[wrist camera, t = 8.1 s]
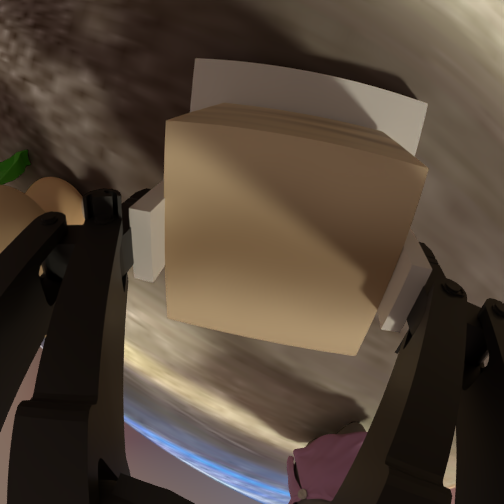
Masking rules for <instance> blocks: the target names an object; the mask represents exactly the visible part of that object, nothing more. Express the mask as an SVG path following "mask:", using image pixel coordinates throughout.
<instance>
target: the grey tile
mask: <svg viewBox="0 0 504 504" xmlns="http://www.w3.org/2000/svg"><path fill="white" fill-rule="evenodd" d="M221 103H232V104H241V105H249V106H257V107H264V108H271V109H278V110H284V111H290V112H296V113H302V114H307V115H313V116H318V117H323V118H328V119H332V120H337V121H342V122H346V123H350V124H355V125H359V126H363V127H367V128H371V129H375V130H379V131H382V132H384V133H385V134H386V135H388V136H389V137H390V138H392V139H393V140H394V141H396V142H397V143H398V144H399V145H401V146H402V147H403V148H404V149H406V150H407V151H408V152H409V153H411V154H412V155H413V156H414V157H415V153H416V150H417V146H418V142H419V138H420V135H421V131H422V127H423V123H424V119H425V114H426V110H427V106H428V104H427V103H424V102H421V101H419V100H416V99H413V98H410V97H407V96H404V95H401V94H397V93H394V92H391V91H388V90H384V89H381V88H377V87H374V86H370V85H367V84H363V83H359V82H355V81H351V80H347V79H343V78H339V77H334V76H330V75H325V74H320V73H315V72H310V71H305V70H299V69H293V68H287V67H281V66H274V65H267V64H259V63H251V62H242V61H231V60H219V59H203V58H195V65H194V74H193V84H192V94H191V105H190V112H193V111H197V110H200V109H203V108H207V107H210V106H214V105H217V104H221Z"/></svg>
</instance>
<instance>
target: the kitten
mask: <svg viewBox="0 0 504 504" xmlns="http://www.w3.org/2000/svg"><path fill="white" fill-rule="evenodd" d="M26 165H31V164H30V162H29V159H28V150H23V151H20V152H17V153H16V154H14V155H13V156H12V157H10V158H9V159H7V160H5V161H3V162H0V253H1V252H2V251H3V250H4V249H5V248H6V247H7V246H8V245H9V244H10V243H11V242H12V241H13V240H14V239H15V238H16V237H17V236H18V235H19V234H20V233H21V232H22V231H23V230H24V229H25V228H26V227H27V226H28V225H29V224H30V223H31V222H32V221H33V220H34V219H35V218H37V217H38V216H40V215H42V214H44V213H46V212H48V213H49V212H51V211H53V212H61V213H63V214H65V215H66V221H67V225H83V224H84V221H85V216H84V207H83V198H82V195H81V194H80V193H79V192H78V191H77V190H76V189H75V188H74V187H73V186H72V185H71V184H70V183H68V182H66V181H65V180H63V179H60V178H57V177H44V178H41V179H39V180H37V181H36V182H34V183H33V184H32V185H31V186H30V187H29V189H28V190H27V191H26V193H25V194H24V193H23V192H21V191H19V190H17V189H15V188H12V187H9V186H5V185H3V184H5V183H7V182H10V181H13V180H15V179H16V178H18V177H19V175H21V174H22V173H23V172H24V171H25V167H26ZM42 273H43V269H42V265H41V266H40V270H39V276H41V275H42ZM45 337H46V336H45Z"/></svg>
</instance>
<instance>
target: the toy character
mask: <svg viewBox="0 0 504 504" xmlns="http://www.w3.org/2000/svg"><path fill="white" fill-rule="evenodd" d="M367 433H368V432H366V431H365V429H364V427H363V426H362V425H361V424H360V423H358V422H353V423H350V424H348V425H347V426H345V427H344V428H343V429H342V430H341V431H339V432H338V433H337V434H326V435H323V436H321V437H319V438H317V439H314V440H312V441H310V442H309V443H308V444H307V446H306V447H305V448H300V449H295V450H294V451H293V453H294V456H295V461H296V462H295V464H294V463H293V461H294V457H293V456H289V457H288V459H287V472H288V485H289V492H290V496H291V500H290V502H289V504H330V502H331V501H332V500H333V498H334V497H335V495H336V494H337V492H338V490H339V488H340V486H341V485H342V483H343V481H344V479H345V477H346V475H347V473H348V472H349V470H350V468H351V466H352V464H353V462H354V460H355V458H356V456H357V454H358V452H359V450H360V448H361V446H362V443H363V441H364V439H365V437H366V435H367Z"/></svg>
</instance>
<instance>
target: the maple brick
mask: <svg viewBox="0 0 504 504" xmlns="http://www.w3.org/2000/svg"><path fill="white" fill-rule="evenodd" d="M428 169H429V168H427V167H426V166H425V165H424V164H423V163H422V162H420V161H419V160H418V159H417V158H416V157H414V156H413V155H412V154H411V153H409V152H408V151H407V150H406V149H404V148H403V147H402V146H401V145H399V144H398V143H397V142H396V141H394V140H393V139H392V138H390V137H389V136H388V135H386V134H385V133H384V132H382V131H379V130H375V129H371V128H367V127H363V126H359V125H355V124H350V123H346V122H342V121H337V120H332V119H328V118H323V117H318V116H313V115H307V114H302V113H296V112H290V111H284V110H278V109H271V108H264V107H257V106H249V105H241V104H232V103H221V104H217V105H214V106H210V107H207V108H203V109H200V110H197V111H193V112H190V113H187V114H184V115H181V116H178V117H175V118H172V119H169V120H166V129H165V154H164V198H165V280H166V299H167V315H168V318H169V319H173V320H176V321H180V322H184V323H188V324H192V325H197V326H201V327H205V328H209V329H213V330H218V331H222V332H227V333H231V334H236V335H240V336H245V337H250V338H255V339H259V340H264V341H270V342H275V343H280V344H285V345H291V346H296V347H302V348H307V349H313V350H319V351H325V352H332V353H338V354H345V355H352V356H356V354H357V352H358V350H359V348H360V346H361V344H362V342H363V340H364V338H365V335H366V333H367V331H368V329H369V327H370V325H371V323H372V321H373V318H374V316H375V314H376V312H377V309H378V307H379V305H380V303H381V301H382V298H383V296H384V294H385V291H386V289H387V287H388V284H389V282H390V279H391V277H392V274H393V272H394V269H395V267H396V264H397V262H398V259H399V257H400V254H401V251H402V249H403V246H404V243H405V241H406V238H407V235H408V232H409V229H410V227H411V224H412V221H413V218H414V215H415V212H416V209H417V206H418V203H419V199H420V196H421V193H422V190H423V186H424V183H425V180H426V176H427V173H428Z"/></svg>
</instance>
